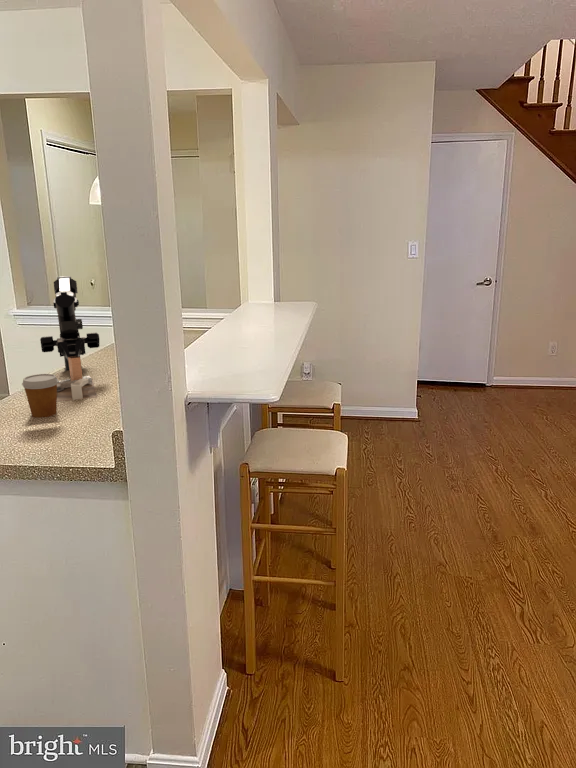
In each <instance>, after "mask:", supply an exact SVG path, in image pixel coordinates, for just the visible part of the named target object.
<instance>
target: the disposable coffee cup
mask: <svg viewBox="0 0 576 768" xmlns="http://www.w3.org/2000/svg"><path fill="white" fill-rule="evenodd" d="M58 381H59V379H58V377H57V376H56V375H55V374H54V373H39V374H32V375H28V376H25V377H24V378H23V380H22V383H21V385H22V387H23V388H24V391H25V395H26V398H27V402H28V406H29V410H30V412H31V416H32V417H33V418H37V419H39V418H41V419H43V418H49V417H53V416H54V415H56V414H57V413H58V411H57V410H58V409H57V407H58V405H57V404H58V402H57V383H58Z"/></svg>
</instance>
